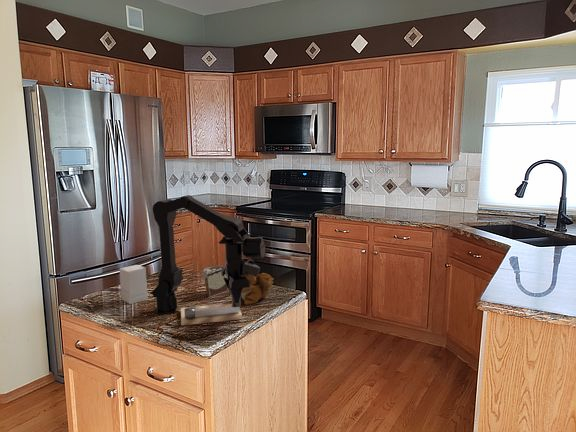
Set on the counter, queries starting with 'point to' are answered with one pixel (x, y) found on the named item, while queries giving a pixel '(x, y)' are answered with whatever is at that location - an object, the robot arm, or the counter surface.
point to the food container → (214, 281)
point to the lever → (212, 310)
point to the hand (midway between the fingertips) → (235, 301)
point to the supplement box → (133, 284)
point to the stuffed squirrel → (256, 288)
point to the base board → (210, 316)
